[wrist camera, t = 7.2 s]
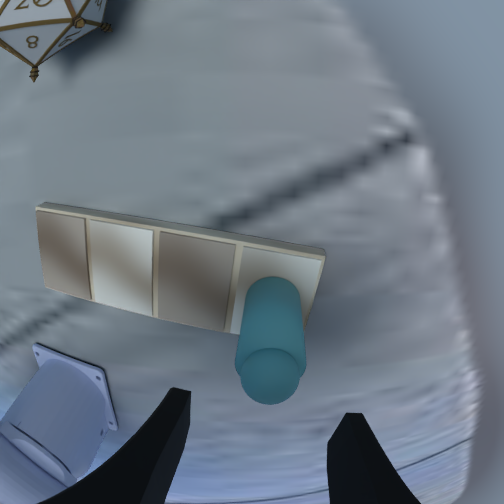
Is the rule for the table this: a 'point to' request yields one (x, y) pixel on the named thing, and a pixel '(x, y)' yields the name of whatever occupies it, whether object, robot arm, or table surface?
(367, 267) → the table surface
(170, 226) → the board
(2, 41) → the game die
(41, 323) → the table surface
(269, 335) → the pawn
